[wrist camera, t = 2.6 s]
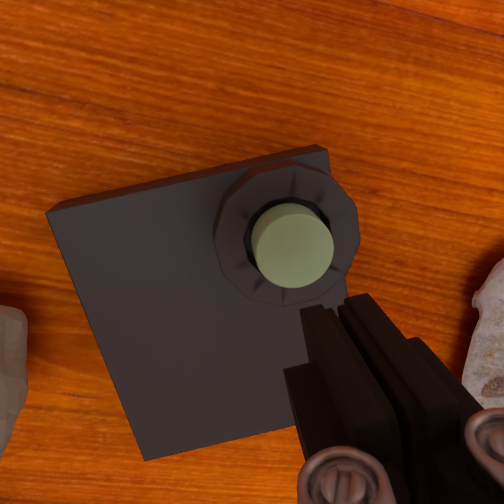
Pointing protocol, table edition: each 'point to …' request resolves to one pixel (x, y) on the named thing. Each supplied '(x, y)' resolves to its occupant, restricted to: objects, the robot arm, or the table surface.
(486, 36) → the table surface
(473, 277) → the table surface
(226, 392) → the grey push button base
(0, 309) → the ceramic sculpture
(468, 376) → the stone
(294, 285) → the button
